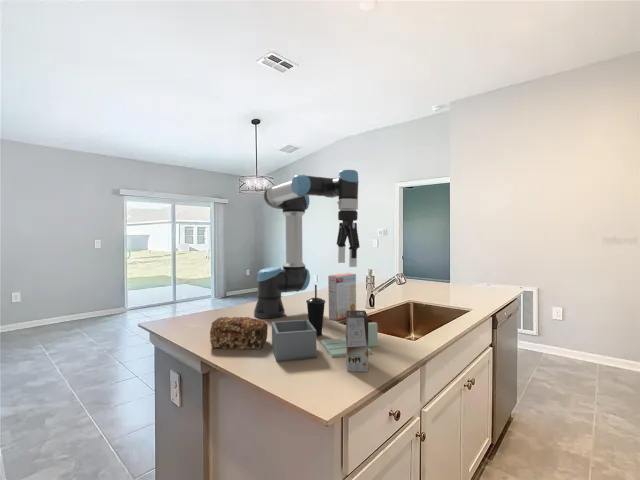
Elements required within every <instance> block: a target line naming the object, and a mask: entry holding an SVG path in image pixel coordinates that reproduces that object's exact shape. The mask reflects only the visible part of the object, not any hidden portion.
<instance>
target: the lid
mask: <svg viewBox="0 0 640 480" xmlns="http://www.w3.org/2000/svg"><path fill="white" fill-rule="evenodd" d="M378 341H379V340H378V322H376V321H375V322H373V321H372V322H368V355H370V354H371V355H372V353H373V352H372V349H371V348H370V347H378V346H379V345H378ZM320 344H321V345H322V346H323V348H324V349H325V350H326V352H327V353H328V355H329V356H330V357H331V358H338V357H340V358H341V357H346V337H341V338H329V339H320Z"/></svg>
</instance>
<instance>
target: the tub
mask: <svg viewBox="0 0 640 480" xmlns="http://www.w3.org/2000/svg"><path fill="white" fill-rule="evenodd" d="M271 349H272V353H273V355H274V358H275V361H276V363H279V362H287V361H289V362H291V361H297V360H299V361H300V360H310V359H317V337H316V329H315V328H314V327H313V326H312V324H311V323H310V322H309V320H308V319H299V320H298V319H296V320H283V321H281V320H280V321H278V320H277V321H271Z"/></svg>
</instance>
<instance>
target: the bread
mask: <svg viewBox="0 0 640 480" xmlns="http://www.w3.org/2000/svg"><path fill="white" fill-rule="evenodd" d="M268 326H269V325H268V323H267V322H266V321H265V320H264V319H263V318H258V319H257V318H253V317H249V316H245V317H244V316H243V317H242V316H238V317H237V316H233V317H229V316H222V317H218V318H216V319H215V320H214V321H213V322H212V323H211V327H210V332H209V335H210V336H209V338H210V341H209V343H210V345H211V348H214V349H216V348H221V349H227V350H229V349H231V350H260V349H262V348H263V347H264V345H265V344H266V343H267V340H268V328H269V327H268Z"/></svg>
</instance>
